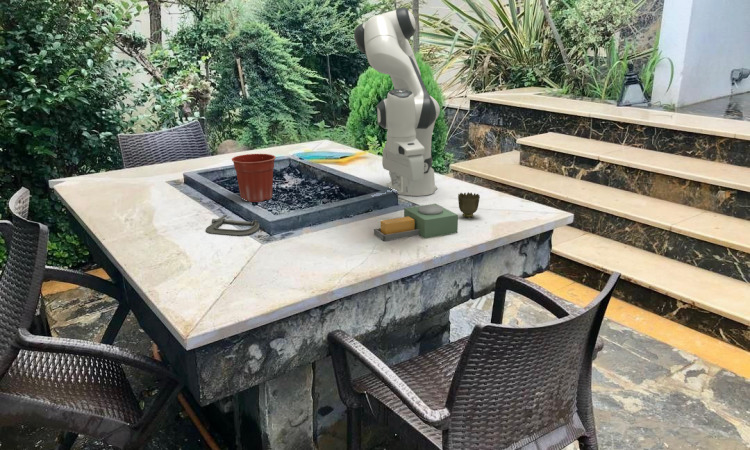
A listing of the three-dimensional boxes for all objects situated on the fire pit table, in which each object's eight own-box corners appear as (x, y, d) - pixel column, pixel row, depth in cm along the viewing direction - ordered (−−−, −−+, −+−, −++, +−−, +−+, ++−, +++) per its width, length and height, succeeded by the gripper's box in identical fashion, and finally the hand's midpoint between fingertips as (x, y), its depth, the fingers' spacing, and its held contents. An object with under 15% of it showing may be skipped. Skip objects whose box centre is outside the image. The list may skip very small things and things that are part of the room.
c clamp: (193, 233, 189) (192, 225, 188) (224, 217, 204) (223, 210, 203) (246, 240, 182) (245, 232, 181) (274, 223, 197) (273, 216, 196)
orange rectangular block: (380, 235, 184) (380, 220, 182) (408, 230, 187) (408, 216, 186) (386, 239, 180) (386, 224, 178) (414, 234, 184) (414, 219, 182)
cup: (478, 221, 196) (479, 198, 193) (456, 219, 197) (457, 197, 194) (479, 214, 203) (480, 192, 200) (457, 213, 204) (458, 191, 201)
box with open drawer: (369, 231, 187) (369, 210, 185) (435, 220, 197) (435, 200, 195) (388, 244, 175) (388, 222, 173) (457, 232, 185) (458, 211, 182)
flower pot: (262, 190, 236) (259, 151, 231) (286, 197, 225) (284, 157, 220) (227, 198, 225) (223, 158, 220) (250, 206, 214) (247, 164, 209)
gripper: (376, 140, 182) (378, 182, 186) (408, 151, 164) (409, 198, 169) (394, 138, 184) (395, 180, 189) (427, 149, 167) (427, 194, 171)
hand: (402, 188), depth 179 cm, fingers open, 8 cm apart
